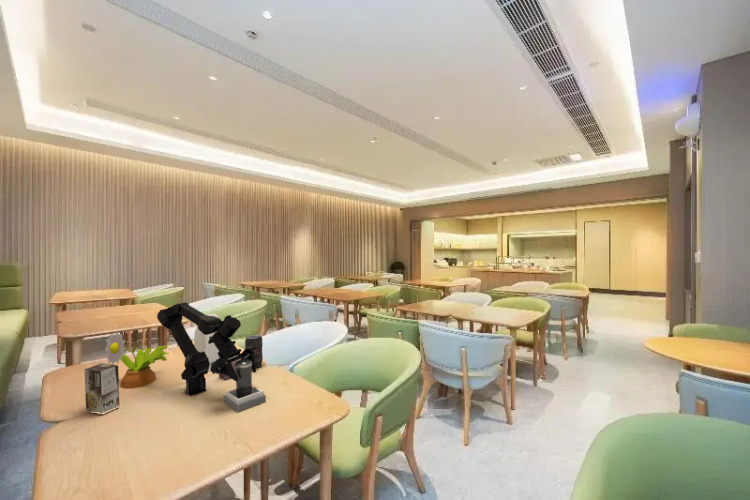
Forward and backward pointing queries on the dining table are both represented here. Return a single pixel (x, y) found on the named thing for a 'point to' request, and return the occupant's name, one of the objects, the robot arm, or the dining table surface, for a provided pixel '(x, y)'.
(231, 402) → the shallow square tray
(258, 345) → the camera lens
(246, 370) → the dark tapered cup
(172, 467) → the dining table surface
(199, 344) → the milk
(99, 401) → the coffee box
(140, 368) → the decorative plant
